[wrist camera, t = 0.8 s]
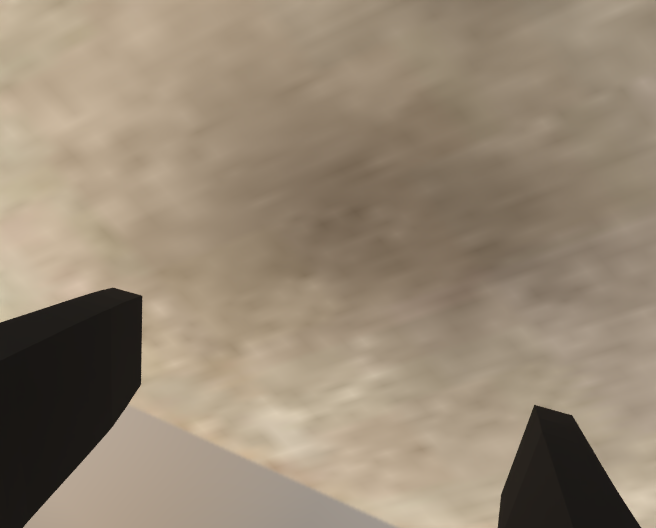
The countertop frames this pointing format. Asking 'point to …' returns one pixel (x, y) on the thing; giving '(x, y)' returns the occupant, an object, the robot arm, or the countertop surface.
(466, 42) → the countertop surface
